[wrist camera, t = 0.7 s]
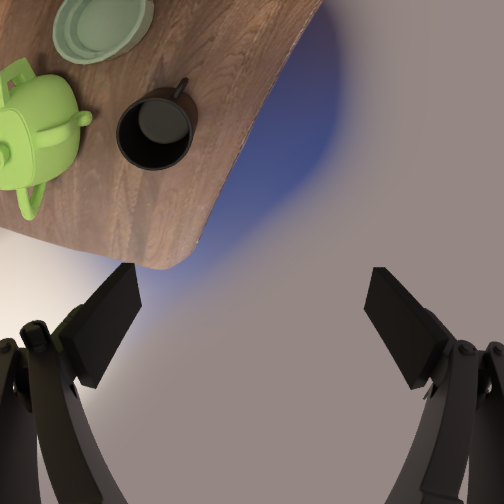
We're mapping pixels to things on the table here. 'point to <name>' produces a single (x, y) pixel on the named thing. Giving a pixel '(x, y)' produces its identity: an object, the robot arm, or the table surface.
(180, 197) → the table surface
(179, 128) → the mug
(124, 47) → the bowl
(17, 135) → the teapot
